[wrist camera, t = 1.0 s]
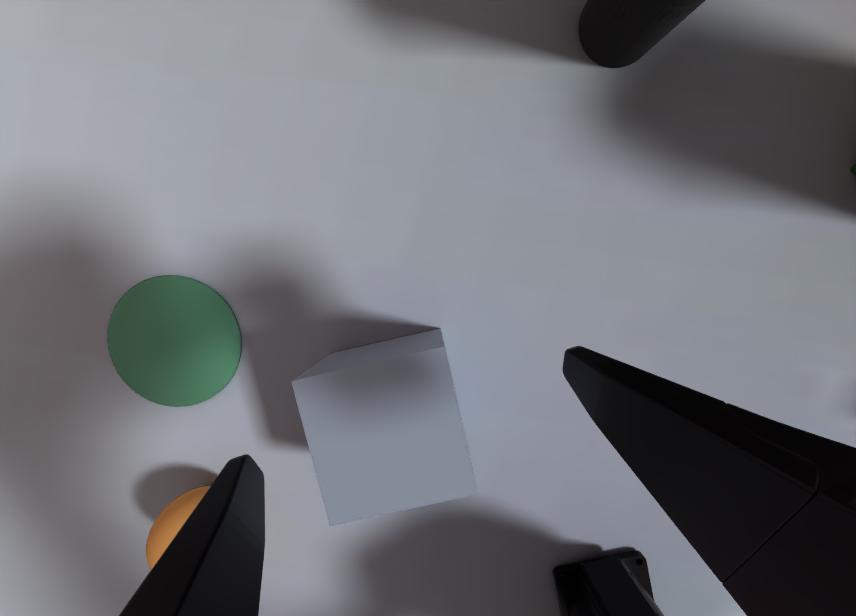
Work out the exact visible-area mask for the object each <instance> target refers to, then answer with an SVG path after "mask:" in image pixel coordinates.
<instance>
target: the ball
mask: <svg viewBox="0 0 856 616" xmlns="http://www.w3.org/2000/svg"><path fill="white" fill-rule="evenodd" d="M209 488H210V486H204V487H199V488H196V489H193V490H190V491H188V492H186V493H184V494H182V495H181V496H179V497H178V498H176V499H175V500H174V501H172V502H171V503H170V504H169V505H168V506H167V507H166V508H165V509H164V510H163V511H162V512H161V513H160V515H159V516H158V518H157V519H156V521H155V522H154V524H153V526H152V528H151V530H150V533H149V535H148V539H147V544H146V557H147V561H148V564H149V567H150V568H151V570H152V568H153V567H154V565H155V564H156V563H157V561H158V560H159V558H160V557H161V556H162V554H163V553H164V551H165V550H166V548H167V547H168V546H169V544H170V543H171V541H172V540H173V539H174V537H175V536H176V534H177V533H178V532H179V530H180V529H181V527H182V526H183V524H184V523H185V522H186V520H187V519H188V517H189V516H190V515H191V513H192V512H193V510H194V509H195V508H196V506H197V505H198V503H199V502H200V500H201V499H202V498H203V496H204V495H205V493H206V492H207V491H208V489H209Z"/></svg>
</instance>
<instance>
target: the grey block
mask: <svg viewBox="0 0 856 616" xmlns="http://www.w3.org/2000/svg"><path fill="white" fill-rule="evenodd" d="M291 383H292V387H293V391H294V394H295V398H296V402H297V405H298V409H299V413H300V417H301V420H302V424H303V428H304V431H305V435H306V439H307V443H308V446H309V450H310V454H311V457H312V461H313V465H314V469H315V472H316V476H317V480H318V484H319V487H320V491H321V495H322V498H323V502H324V506H325V510H326V513H327V517H328V521H329V524H330V526H334V525H338V524H343V523H347V522H352V521H357V520H361V519H366V518H371V517H375V516H380V515H384V514H389V513H394V512H398V511H403V510H408V509H412V508H417V507H422V506H426V505H431V504H435V503H440V502H445V501H449V500H454V499H459V498H463V497H468V496H472V495H477V494H478V490H477V485H476V481H475V477H474V472H473V468H472V464H471V459H470V455H469V450H468V446H467V442H466V437H465V433H464V429H463V424H462V420H461V416H460V411H459V407H458V403H457V398H456V394H455V389H454V385H453V381H452V376H451V372H450V368H449V363H448V359H447V355H446V350H445V346H444V342H443V338H442V333H441V329H440V328H439V329H434V330H430V331H426V332H421V333H417V334H413V335H408V336H404V337H399V338H395V339H391V340H386V341H382V342H377V343H373V344H369V345H364V346H360V347H356V348H351V349H347V350H342V351H338V352H334V353H330V354H329V355H327V356H326V357H325V358H323V359H322V360H320V361H319V362H318V363H316V364H315V365H313V366H312V367H310V368H309V369H308V370H306V371H305V372H303V373H302V374H301V375H299V376H298V377H296V378H295V379H293V380H292V381H291Z"/></svg>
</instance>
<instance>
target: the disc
mask: <svg viewBox="0 0 856 616" xmlns="http://www.w3.org/2000/svg"><path fill="white" fill-rule="evenodd" d="M241 346H242V343H241V333H240V328H239V325H238V322H237V319H236V317H235V315H234V313H233V311H232V310H231V308H230V307H229V305H228V304H227V302H226V301H225V300H224V299H223V298H222V297H221V296H220V295H219V294H218V293H217V292H216V291H214V290H213V289H212V288H210V287H209V286H207V285H205V284H203V283H201V282H199V281H197V280H194V279H191V278H187V277H182V276H160V277H154V278H151V279H148V280H145V281H143V282H141V283H139V284H137V285H136V286H134V287H133V288H131V289H130V290H129V291H128V292H127V293H125V295H124V296H123V297H122V298H121V299H120V300H119V302H118V304H117V305H116V307H115V309H114V311H113V313H112V315H111V319H110V322H109V327H108V348H109V352H110V356H111V359H112V362H113V364H114V366H115V368H116V370H117V372H118V374H119V375H120V376H121V378H122V379H123V381H124V382H125V383H126V384H127V385H128V386H129V387H130V388H131V389H132V390H134V391H135V392H136V393H138V394H139V395H140V396H142V397H144V398H146V399H148V400H150V401H152V402H155V403H158V404H161V405H166V406H174V407H180V406H190V405H194V404H198V403H201V402H203V401H205V400H207V399H209V398H211V397H213V396H214V395H216V394H217V393H218V392H220V391H221V390H222V389H223V388H224V387H225V386H226V385H227V384H228V383H229V381H230V380H231V378H232V377H233V375H234V373H235V371H236V369H237V367H238V364H239V361H240V356H241Z"/></svg>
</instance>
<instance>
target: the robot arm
mask: <svg viewBox="0 0 856 616" xmlns="http://www.w3.org/2000/svg"><path fill="white" fill-rule="evenodd" d="M563 374H564V376H565V378H566V380H567V381H568V383H569V384H570V386H571V387H572V389H573V391H574V392H575V394H576V395H577V397H578V398H579V400H580V401H581V403H582V405H583V406H584V408H585V409H586V411H587V412H588V414H589V415H590V417H591V418H592V420H593V421H594V422H595V424H596V425H597V426H598V428H599V429H600V430H601V432H602V433H603V434H604V435H605V437H606V438H607V439H608V440H609V442H610V443H611V444H612V445H613V447H614V448H615V449H616V450H617V452H618V453H619V454H620V456H621V457H622V458H623V459H624V461H625V462H626V463H627V464H628V466H629V467H630V468H631V469H632V471H633V472H634V473H635V474H636V476H637V477H638V478H639V480H640V481H641V482H642V483H643V485H644V486H645V487H646V488H647V490H648V491H649V492H650V493H651V495H652V496H653V497H654V498H655V500H656V501H657V502H658V503H659V505H660V506H661V507H662V509H663V510H664V511H665V512H666V514H667V515H668V516H669V517H670V519H671V520H672V521H673V522H674V524H675V525H676V526H677V527H678V529H679V530H680V531H681V533H682V534H683V535H684V536H685V538H686V539H687V540H688V541H689V543H690V544H691V545H692V546H693V548H694V549H695V550H696V551H697V553H698V554H699V555H700V557H701V558H702V559H703V560H704V562H705V563H706V564H707V565H708V567H709V568H710V569H711V570H712V572H713V573H714V574H715V575H716V577H717V578H718V579H719V580H720V582H722V584H723V586H724V587H725V588H726V590H727V591H728V592H729V593H730V595H731V596H732V597H733V599H734V600H735V601H736V602H737V604H738V605H739V606H740V607H741V609H742V610H743V611H744V612H745V614H746V615H747V616H856V448H854V447H851V446H848V445H845V444H842V443H839V442H836V441H833V440H830V439H827V438H824V437H821V436H818V435H815V434H812V433H809V432H806V431H803V430H800V429H797V428H794V427H791V426H788V425H786V424H783V423H780V422H777V421H774V420H771V419H769V418H766V417H763V416H761V415H758V414H755V413H752V412H750V411H747V410H745V409H742V408H739V407H737V406H734V405H732V404H729V403H727V404H726V403H725V402H724V401H721V400H718V399H716V398H713V397H711V396H708V395H706V394H703V393H700V392H698V391H695V390H693V389H690V388H687V387H685V386H682V385H680V384H677V383H675V382H672V381H669V380H667V379H664V378H662V377H659V376H657V375H654V374H651V373H649V372H646V371H644V370H641V369H638V368H636V367H633V366H631V365H628V364H626V363H623V362H620V361H618V360H615V359H613V358H610V357H607V356H605V355H602V354H600V353H597V352H595V351H592V350H589V349H587V348H584V347H581V346H576V347H572V348H569V349H567V350H566V351H565V354H564V362H563ZM264 547H265V496H264V475H263V472H262V471H261V469H260V468H259V467H258V465H257V464H256V463H255V461H254V460H253V459H252V457H251V456H250V455H247V454H246V455H242V456H239V457H236V458H233V459H231V460H230V461H229V462H228V463H227V464H226V465H225V467H224V468H223V469H222V471H221V472H220V474H219V475H218V477H217V478H216V479H215V481H214V482H213V484H212V485H211V486H210V488H209V489H208V491H207V492H206V493H205V495H204V496H203V498H202V499H201V500H200V502H199V503H198V505H197V506H196V508H195V509H194V510H193V512H192V513H191V515H190V516H189V517H188V519H187V520H186V522H185V523H184V524H183V526H182V527H181V529H180V530H179V532H178V533H177V534H176V536H175V537H174V539H173V540H172V541H171V543H170V544H169V546H168V547H167V548H166V550H165V551H164V553H163V554H162V556H161V557H160V558H159V560H158V561H157V563H156V564H155V565H154V567H153V568H152V570H151V571H150V572H149V574H148V575H147V577H146V578H145V579H144V581H143V582H142V584H141V585H140V587H139V588H138V589H137V591H136V592H135V594H134V595H133V596H132V598H131V599H130V601H129V602H128V603H127V605H126V606H125V608H124V609H123V611H122V612H121V613H120V615H119V616H258V611H259V601H260V591H261V580H262V570H263V560H264ZM637 559H638V560H637ZM560 575H562V576H560ZM553 578H554V583H555V588H556V592H557V597H558V601H559V606H560V611H561V615H562V616H664V615H663V613H662V612H661V611H660V609H659V608H658V606H657V605H656V603H655V602H654V598H653V593H652V588H651V583H650V577H649V572H648V567H647V562H646V559H645V557H644V556H643V555H642V553H641V552H639V551H630V552H626V553H621V554H616V555H611V556H607V557H602V558H597V559H592V560H587V561H583V562H578V563H573V564H568V565H564V566H559V567H556V568H555V569H554V570H553Z"/></svg>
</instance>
